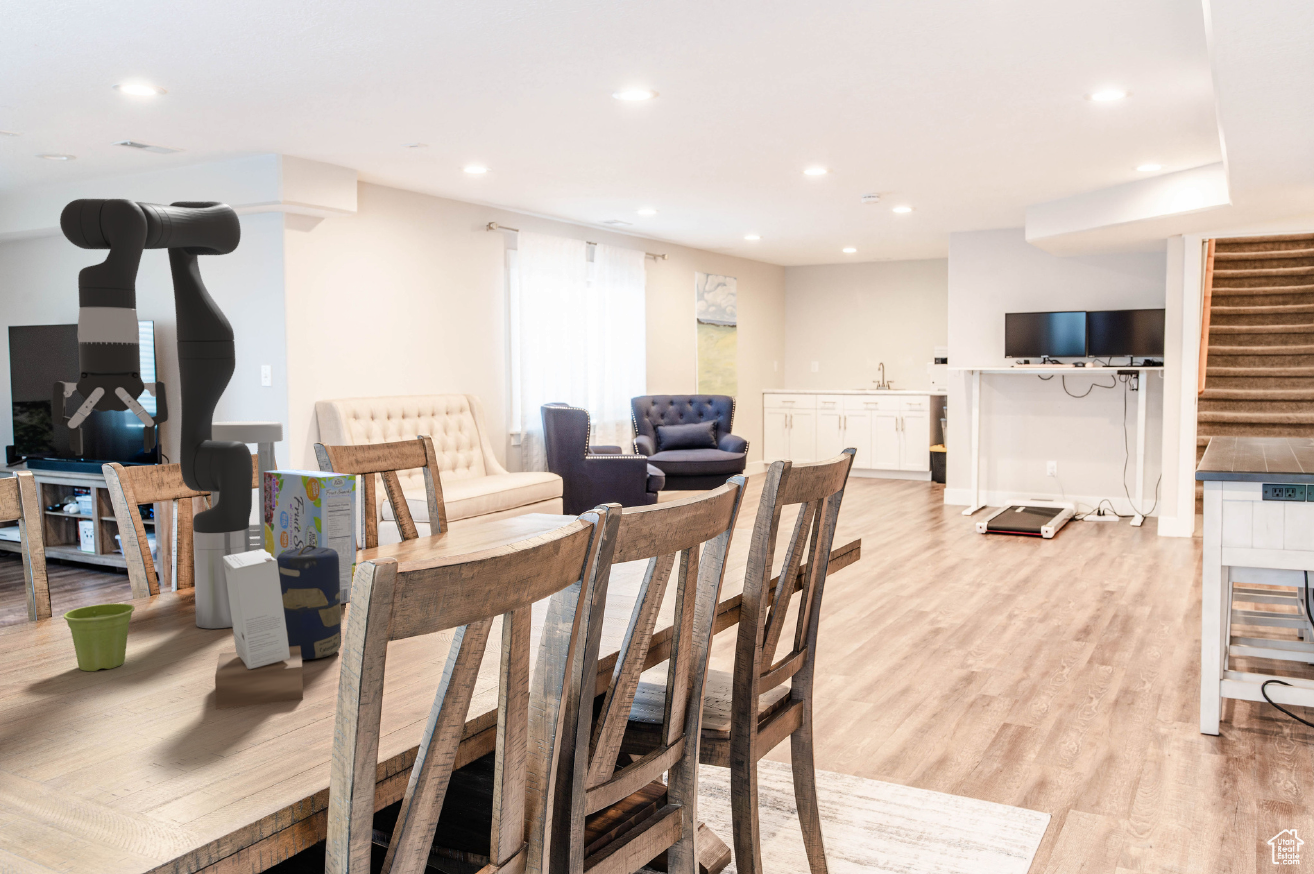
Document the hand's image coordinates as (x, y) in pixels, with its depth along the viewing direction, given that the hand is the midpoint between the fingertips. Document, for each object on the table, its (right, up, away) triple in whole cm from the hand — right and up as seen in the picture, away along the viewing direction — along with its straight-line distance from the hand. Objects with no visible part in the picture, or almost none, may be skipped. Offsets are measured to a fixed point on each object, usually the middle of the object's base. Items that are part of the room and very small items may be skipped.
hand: (113, 453), depth 134 cm
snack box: (+8, -31, +55) cm, 63 cm away
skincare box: (+23, -29, -2) cm, 37 cm away
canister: (+22, -33, +16) cm, 43 cm away
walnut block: (+22, -34, -1) cm, 41 cm away
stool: (-10, -30, +66) cm, 73 cm away
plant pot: (-8, -33, +10) cm, 36 cm away
